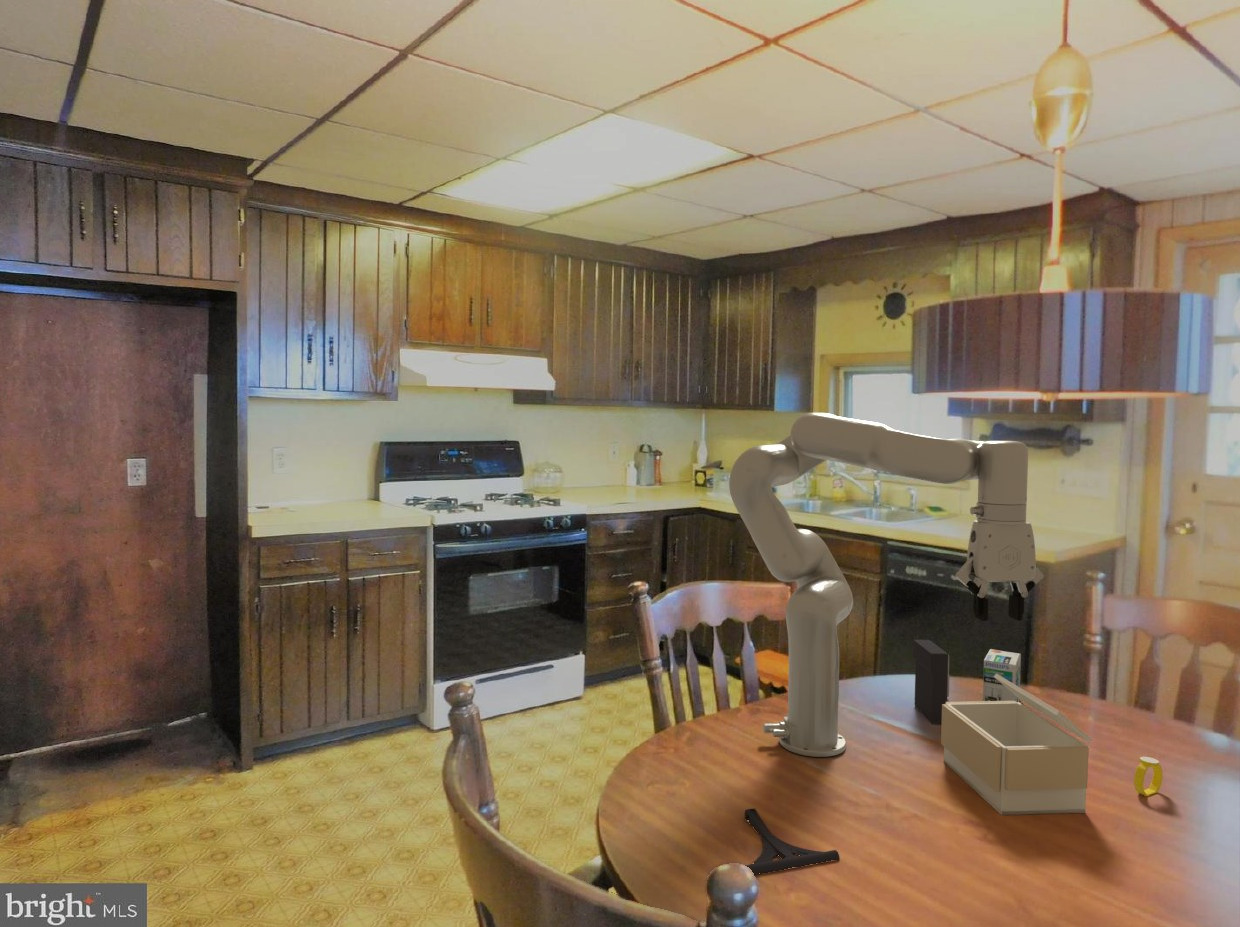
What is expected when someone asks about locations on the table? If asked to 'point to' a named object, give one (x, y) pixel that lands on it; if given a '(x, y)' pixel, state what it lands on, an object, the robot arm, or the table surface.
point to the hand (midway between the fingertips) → (998, 617)
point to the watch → (1140, 773)
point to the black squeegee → (781, 850)
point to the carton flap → (1043, 708)
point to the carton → (1015, 757)
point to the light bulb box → (1005, 667)
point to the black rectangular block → (931, 679)
